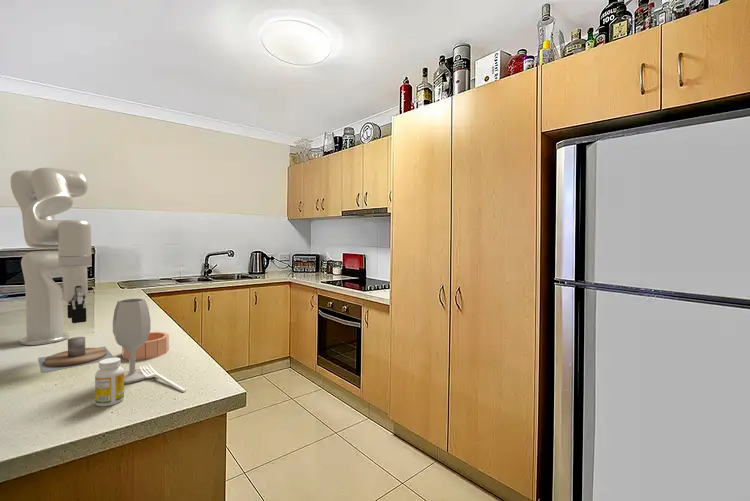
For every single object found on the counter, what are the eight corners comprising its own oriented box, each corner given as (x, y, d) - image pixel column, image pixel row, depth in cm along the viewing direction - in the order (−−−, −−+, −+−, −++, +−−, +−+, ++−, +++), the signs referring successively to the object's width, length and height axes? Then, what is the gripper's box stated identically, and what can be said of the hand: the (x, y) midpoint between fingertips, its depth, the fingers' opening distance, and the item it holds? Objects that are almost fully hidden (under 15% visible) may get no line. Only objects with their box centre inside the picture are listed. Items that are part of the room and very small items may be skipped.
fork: (177, 395, 86) (178, 388, 86) (137, 373, 96) (137, 366, 96) (190, 391, 88) (191, 383, 88) (150, 369, 99) (150, 363, 99)
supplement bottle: (98, 409, 78) (97, 366, 77) (92, 401, 81) (91, 360, 81) (127, 401, 82) (127, 360, 81) (120, 394, 85) (120, 354, 85)
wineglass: (158, 375, 97) (158, 299, 96) (125, 387, 89) (124, 304, 88) (138, 369, 101) (137, 296, 100) (104, 380, 93) (103, 301, 92)
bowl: (118, 355, 112) (118, 336, 111) (161, 347, 120) (161, 329, 120) (128, 365, 103) (127, 345, 103) (173, 356, 112) (173, 337, 112)
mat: (38, 361, 106) (38, 357, 105) (105, 349, 117) (105, 346, 117) (42, 376, 94) (41, 373, 94) (115, 362, 106) (115, 358, 106)
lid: (43, 358, 105) (42, 338, 105) (101, 347, 116) (101, 329, 115) (46, 370, 96) (46, 349, 96) (110, 358, 106) (110, 338, 106)
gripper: (55, 261, 108) (57, 317, 108) (61, 264, 96) (63, 327, 96) (87, 260, 113) (88, 313, 114) (96, 262, 101) (98, 322, 102)
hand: (76, 319), depth 105 cm, fingers open, 9 cm apart
